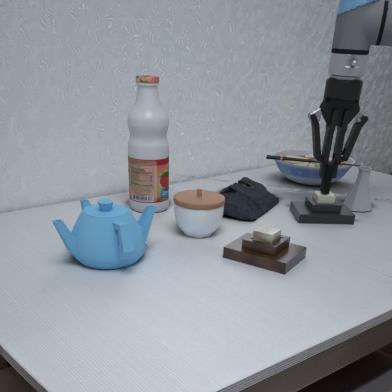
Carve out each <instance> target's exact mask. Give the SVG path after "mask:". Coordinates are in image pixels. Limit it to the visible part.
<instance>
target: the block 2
mask: <svg viewBox="0 0 392 392" xmlns="http://www.w3.org/2000/svg"><path fill="white" fill-rule="evenodd" d="M313 196H314V195H305V199H304V200H302V201H301V200H290V203H289V204H290V205H289V211H290V213H291V214H292V216H293V218H294V219H295V220H296V222H297V224H304V225H305V224H307V225H312V224H313V225H354V224H355V221H356V214H355V213H354V211H351V210H350V209H349V208H348V207H347V206H346V205H345V204H344V203H343V202H344V201H342V202H341V201H339V200H338V199H337V198H336V197H335V201H334V204H331V203H316V202H315V201H314V200H313Z"/></svg>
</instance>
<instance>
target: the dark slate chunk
mask: <svg viewBox="0 0 392 392" xmlns="http://www.w3.org/2000/svg"><path fill="white" fill-rule="evenodd" d="M218 193H219V194H222V195H223V196H224V197H225V204H224V213H223V216H228V217H231V218H235V219H238V220H240V221H245V222H246V221H247V222H250V221H251V222H252V221H255V220H257V219H259V218H261V217H262V216H264V215H265V214H267V213H268V212H270V210H272V209H273V208H274V207H276V206H277V204H278V203H279V202H280V199H279V197H278V196H276V195H275V194H274V193H271V192H270V191H268V189H267V187H266V186H265V185H263V184H262V183H260V182H258V181H255V180H252V179H251V178H249V177H247V176H243V177H242V178H241V179H239V180H237V182H233V183H232V184H230V185H228V186H226V187H224V188H223V189H222V190H220V191H219V192H218Z"/></svg>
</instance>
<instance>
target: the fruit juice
mask: <svg viewBox="0 0 392 392" xmlns="http://www.w3.org/2000/svg"><path fill="white" fill-rule="evenodd" d="M135 84H136V86H137V92H136V98H135V100H134V103H133V106H132V108H131V109H130V111H129V112H128V114H127V120H126V122H127V123H126V124H127V128H128V132H129V139H128V142H127V169H128V196H129V206H130V209H132V211H136V212H139V213H143V211H144V209H145V208H146V206H148V205H154V206H155V207H156V209H155V213H161V212H164V211H167V209H169V205H170V144H169V141H168V137H167V135H168V130H169V126H170V123H169V116H168V114H167V112H166V110H165V109H164V108H163V105H162V104H161V103H162V102H161V100H160V96H159V91H158V90H159V88H158V87H159V85H160V76H159V75H152V74H151V75H150V74H139V75H138V74H137V75H136V76H135Z"/></svg>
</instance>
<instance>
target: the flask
mask: <svg viewBox="0 0 392 392" xmlns="http://www.w3.org/2000/svg"><path fill="white" fill-rule="evenodd" d="M357 167H358V169H357V170H358V172H357V173H358V174H357V177H356V179H355V181H354V184H353V186H352V187H351V189H350V191H349V192H348V194H347V195H346V197H345V199H344V201H342V202H343V203H344V204H345V205H346V206H347V207H348V208H349V209H350V210H351V211H352V212H363V213H365V212H371V211H372V209H373V207H372V202H371V193H370V175H371V172H372V171H373V168H372V167H371V166H366V165H362V166H361V165H360V166H357Z"/></svg>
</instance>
